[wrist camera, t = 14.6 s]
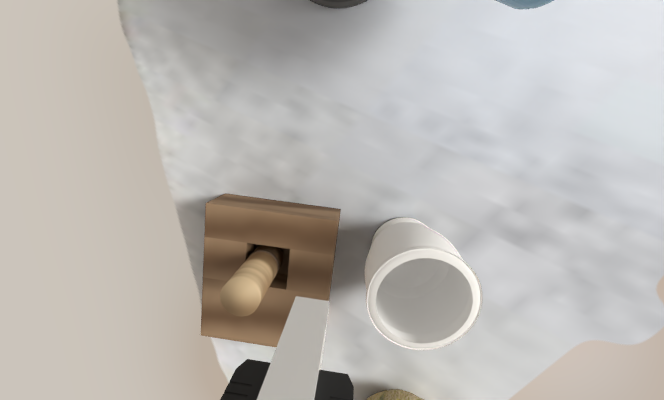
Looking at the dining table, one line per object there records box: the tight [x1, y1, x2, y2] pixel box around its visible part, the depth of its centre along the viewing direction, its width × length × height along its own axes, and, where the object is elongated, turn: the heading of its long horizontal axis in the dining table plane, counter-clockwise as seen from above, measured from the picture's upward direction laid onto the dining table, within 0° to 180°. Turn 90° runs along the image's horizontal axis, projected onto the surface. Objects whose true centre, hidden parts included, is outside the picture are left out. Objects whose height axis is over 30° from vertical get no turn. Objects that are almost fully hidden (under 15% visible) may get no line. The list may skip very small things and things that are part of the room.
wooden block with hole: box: [201, 194, 341, 347], centre depth 44 cm, size 18×16×6 cm
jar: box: [365, 217, 482, 350], centre depth 38 cm, size 11×10×15 cm
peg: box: [220, 245, 283, 317], centre depth 39 cm, size 4×4×12 cm
